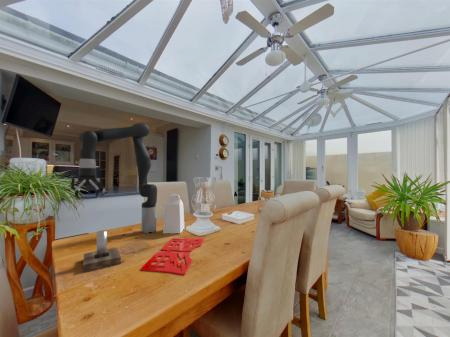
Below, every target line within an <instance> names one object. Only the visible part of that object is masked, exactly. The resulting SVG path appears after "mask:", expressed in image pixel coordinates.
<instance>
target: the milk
mask: <svg viewBox="0 0 450 337" xmlns="http://www.w3.org/2000/svg"><path fill="white" fill-rule="evenodd" d="M184 212H185V211H184V202H183V201H182V198H181V197H180V195H179V194H174V193H173V194H169V196H168V198H167V200H166V202H165V205H164V210H163V228H162V234H163V233H181V232H182V231H183V229H184V230H185V213H184ZM183 232H184V231H183ZM183 232H182V233H183ZM182 233H181V234H182Z"/></svg>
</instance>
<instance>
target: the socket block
mask: <svg viewBox="0 0 450 337" xmlns="http://www.w3.org/2000/svg"><path fill="white" fill-rule="evenodd" d="M121 262H122V258H121V253H120V252H119V249H118V247H113V248H107V257H102V258H97V250H96V251H91V252H85V253H83V264H82V265H83V266H82V273H85V272H90V271H95V270H99V269H103V268H108V267H111V266H112V267H113V266H117V265H120V264H122V263H121Z"/></svg>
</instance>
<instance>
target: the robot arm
mask: <svg viewBox="0 0 450 337" xmlns="http://www.w3.org/2000/svg"><path fill="white" fill-rule="evenodd" d="M149 134H150V127H149V126H148V124H146V123H143V122H138V123H134V124H132V125H131V126H125V127H124V126H123V127H113V128H111V127H110V128H103V129H99V130H84V131H83V132H81V133H80V134H79V135H78V141H79V142H80V143H82V146H81V148H80V152H79V163H78V164H79V166H78V171H79V172H78V178H75V177H72V178H71V182H70V183H71V184H70V189H71V190H73V191H74V196H75V197H76V198H79V189H80V188H81V187H82V186H83V187H87V186H89V187H90V186H91V187H92V186H93V187H94V188H95V197H96V198H97V197H98V196H99V194H100V191H99V190H101V189H103V188H104V187H103V178H102V177H98V178H97V176H96V174H97V173H96V172H97V171H96V169H97V168H96V167H97V162H96V150H97V146H98V143H101V142H110V141H116V140H120V139H125V138H132V143H133V147H134V148H133V149H134V153H135V155H134V156H135V162H136V168H137V177H138V191H139V195H140V196H141V197H142V198H147V200H146V201H144V202H142V203H141V226H140V227H141V228H140V230H141V233H142V234H149V232H152V233H154V231H155V232H157V217H156V215H157V214H156V210H157V207H156V204H157V202H158V188H157V187H158V186H156V185H155V184H153V183H151V184H150V183H148V174H149V172H150V170H151V168H152V162H151V155H150V152H149V151H148V150H147V147H146V145H145V140H144V138H145V137H147V136H148V135H149ZM77 181H78V182H79V184H78V185H77V186H76V187H75V183H77ZM96 182H98V183H99V186H98V185H97V184H96Z"/></svg>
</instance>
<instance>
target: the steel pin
mask: <svg viewBox="0 0 450 337" xmlns="http://www.w3.org/2000/svg"><path fill="white" fill-rule="evenodd" d="M107 249H108V230H105V229H104V230H103V229H102V230H98V231H97V232H96V251H97V258H102V257H107Z"/></svg>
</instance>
